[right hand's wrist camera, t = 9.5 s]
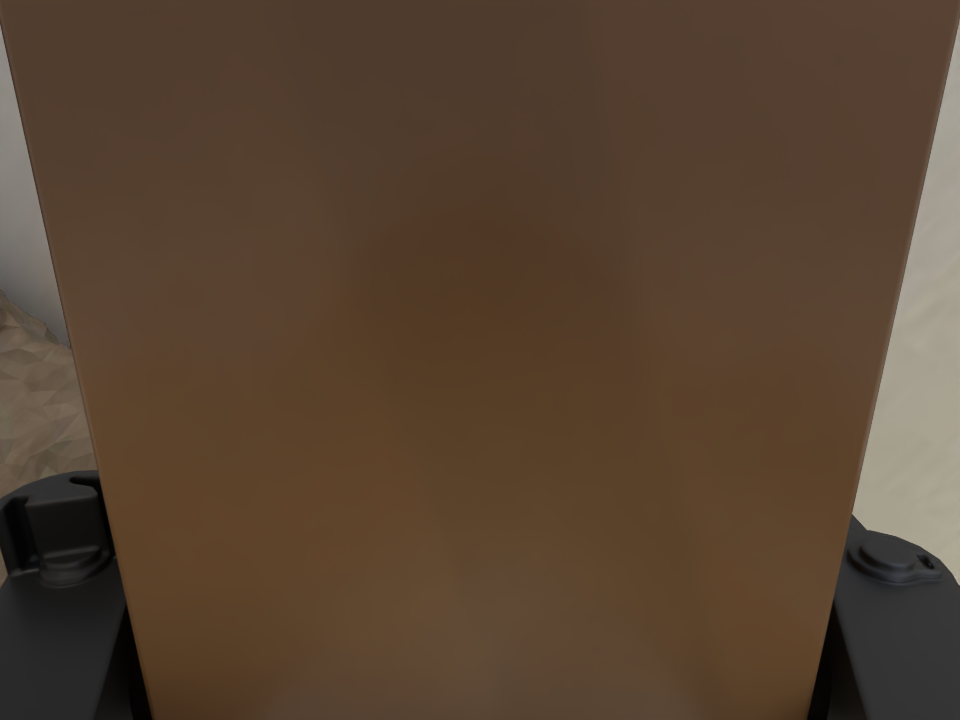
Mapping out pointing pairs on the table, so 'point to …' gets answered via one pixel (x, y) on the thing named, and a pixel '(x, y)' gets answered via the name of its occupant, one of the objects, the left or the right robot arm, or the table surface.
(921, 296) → the table surface
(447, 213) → the bar
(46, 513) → the right robot arm
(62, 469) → the stone
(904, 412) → the table surface
